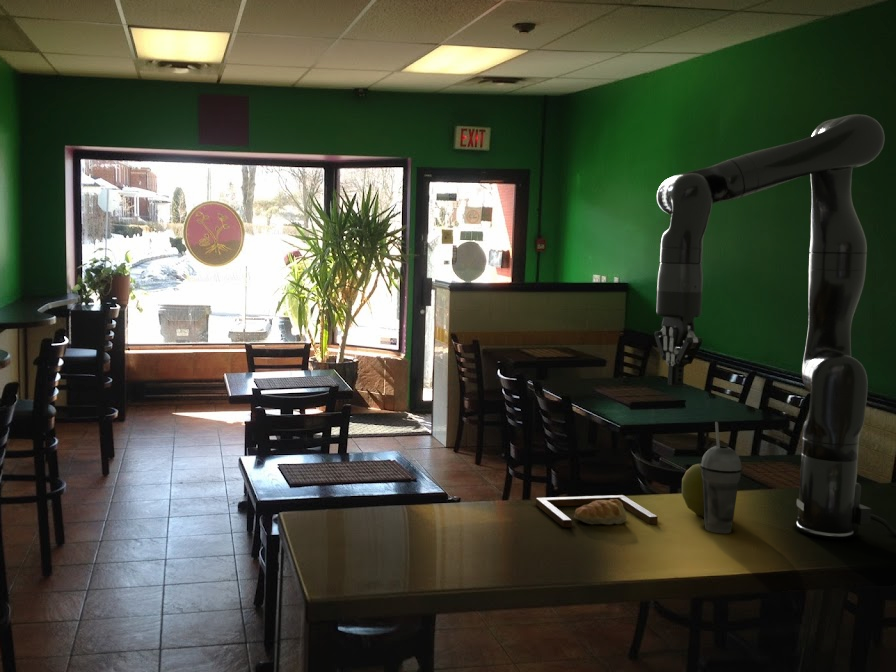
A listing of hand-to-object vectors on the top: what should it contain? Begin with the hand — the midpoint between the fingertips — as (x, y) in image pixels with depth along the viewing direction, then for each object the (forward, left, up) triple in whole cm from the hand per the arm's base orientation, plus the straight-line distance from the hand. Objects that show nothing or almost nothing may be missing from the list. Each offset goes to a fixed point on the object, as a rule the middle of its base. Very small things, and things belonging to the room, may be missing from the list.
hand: (675, 386), depth 158 cm
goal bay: (+8, -13, -27) cm, 31 cm away
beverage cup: (-11, -2, -27) cm, 29 cm away
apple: (-14, -11, -27) cm, 33 cm away
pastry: (+8, -10, -27) cm, 30 cm away
